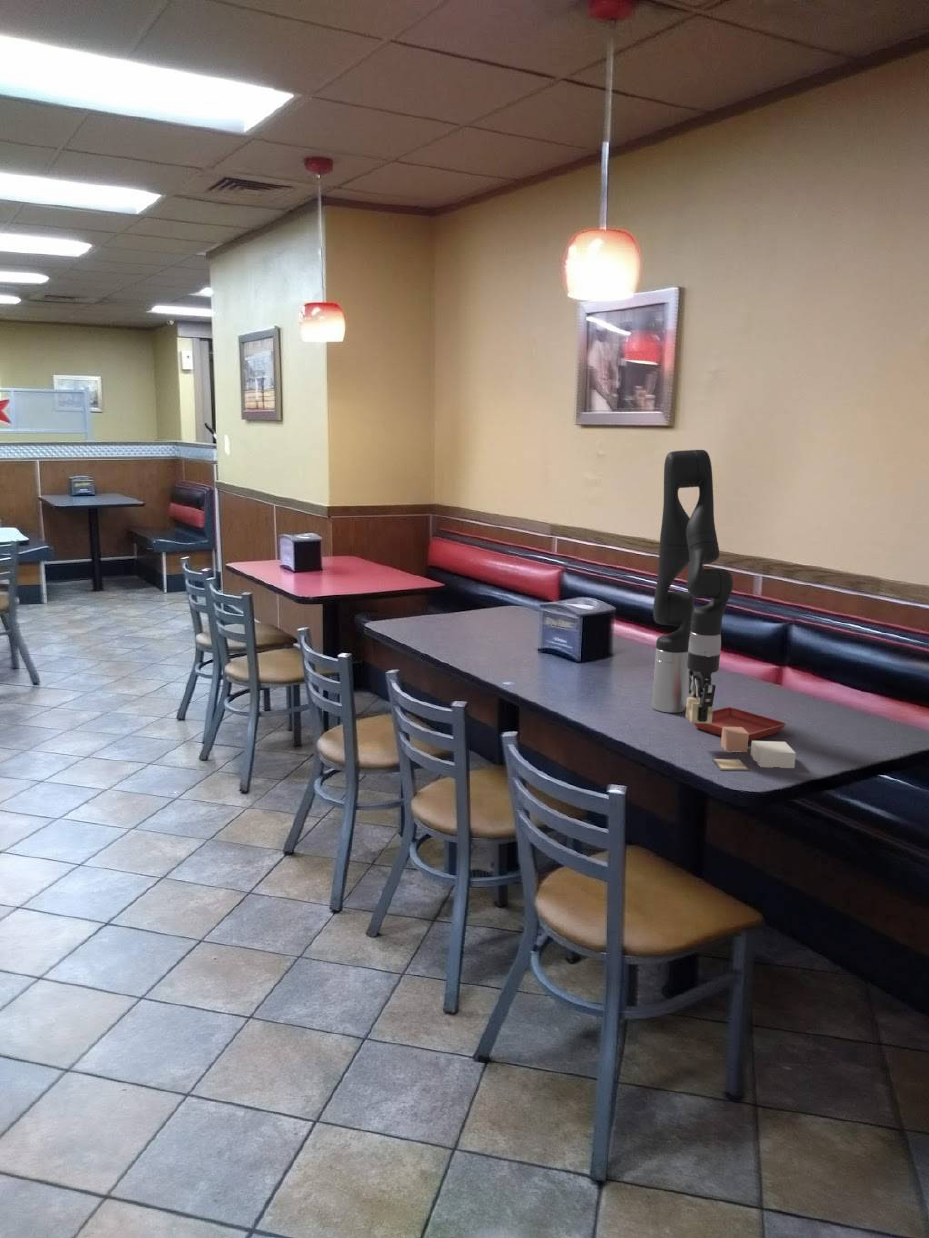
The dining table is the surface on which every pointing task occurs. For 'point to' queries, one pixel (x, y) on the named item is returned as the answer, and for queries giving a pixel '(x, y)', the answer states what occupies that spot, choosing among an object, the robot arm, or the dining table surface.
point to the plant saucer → (741, 723)
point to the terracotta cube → (734, 739)
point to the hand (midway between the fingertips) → (698, 717)
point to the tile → (730, 764)
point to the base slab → (773, 754)
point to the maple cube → (696, 711)
